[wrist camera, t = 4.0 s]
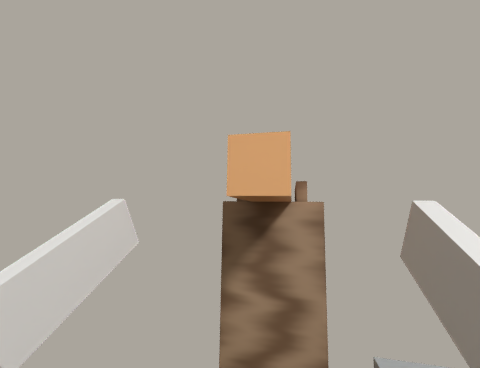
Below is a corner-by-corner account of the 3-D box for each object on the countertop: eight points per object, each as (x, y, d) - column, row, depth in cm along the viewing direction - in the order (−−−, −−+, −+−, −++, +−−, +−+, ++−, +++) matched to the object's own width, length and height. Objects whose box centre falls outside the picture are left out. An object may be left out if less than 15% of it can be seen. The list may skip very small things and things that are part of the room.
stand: (215, 536, 20) (223, 182, 24) (240, 431, 30) (243, 190, 34) (334, 577, 18) (323, 181, 22) (319, 449, 28) (313, 190, 32)
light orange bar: (226, 195, 14) (227, 134, 15) (265, 204, 36) (265, 179, 36) (291, 195, 14) (290, 131, 14) (291, 205, 35) (291, 179, 35)
